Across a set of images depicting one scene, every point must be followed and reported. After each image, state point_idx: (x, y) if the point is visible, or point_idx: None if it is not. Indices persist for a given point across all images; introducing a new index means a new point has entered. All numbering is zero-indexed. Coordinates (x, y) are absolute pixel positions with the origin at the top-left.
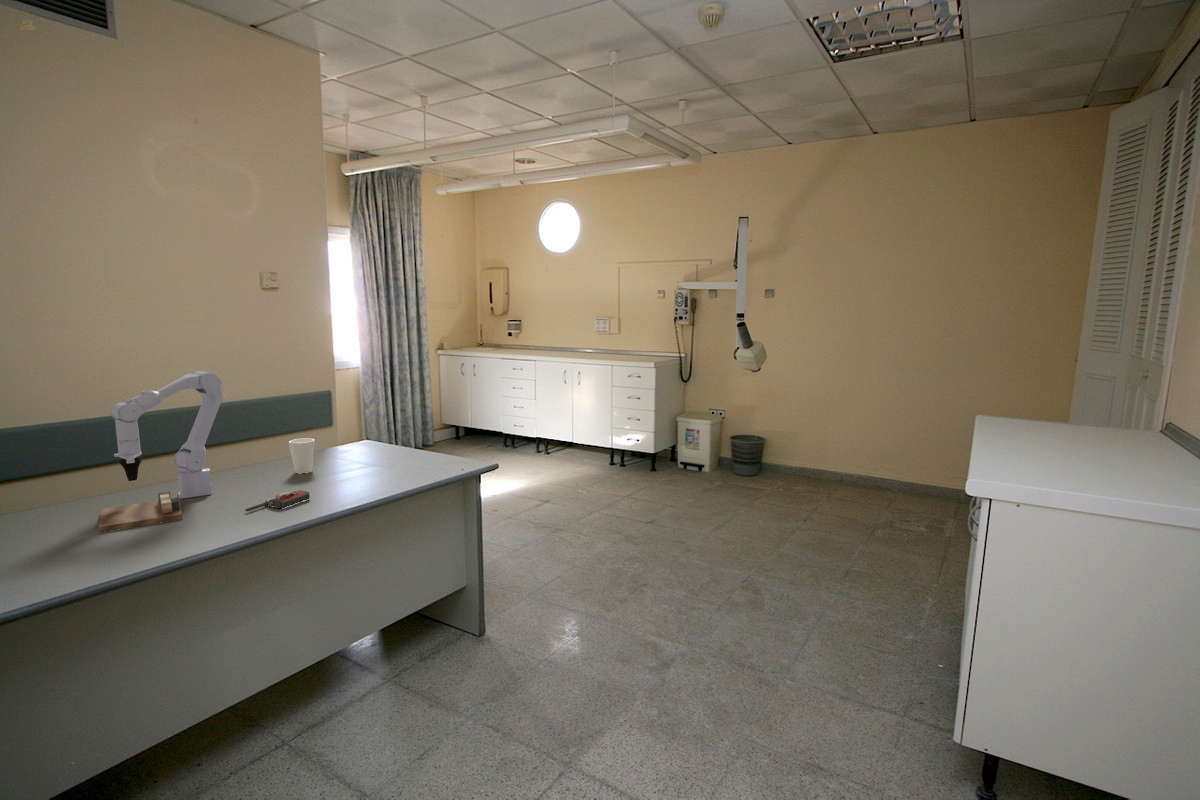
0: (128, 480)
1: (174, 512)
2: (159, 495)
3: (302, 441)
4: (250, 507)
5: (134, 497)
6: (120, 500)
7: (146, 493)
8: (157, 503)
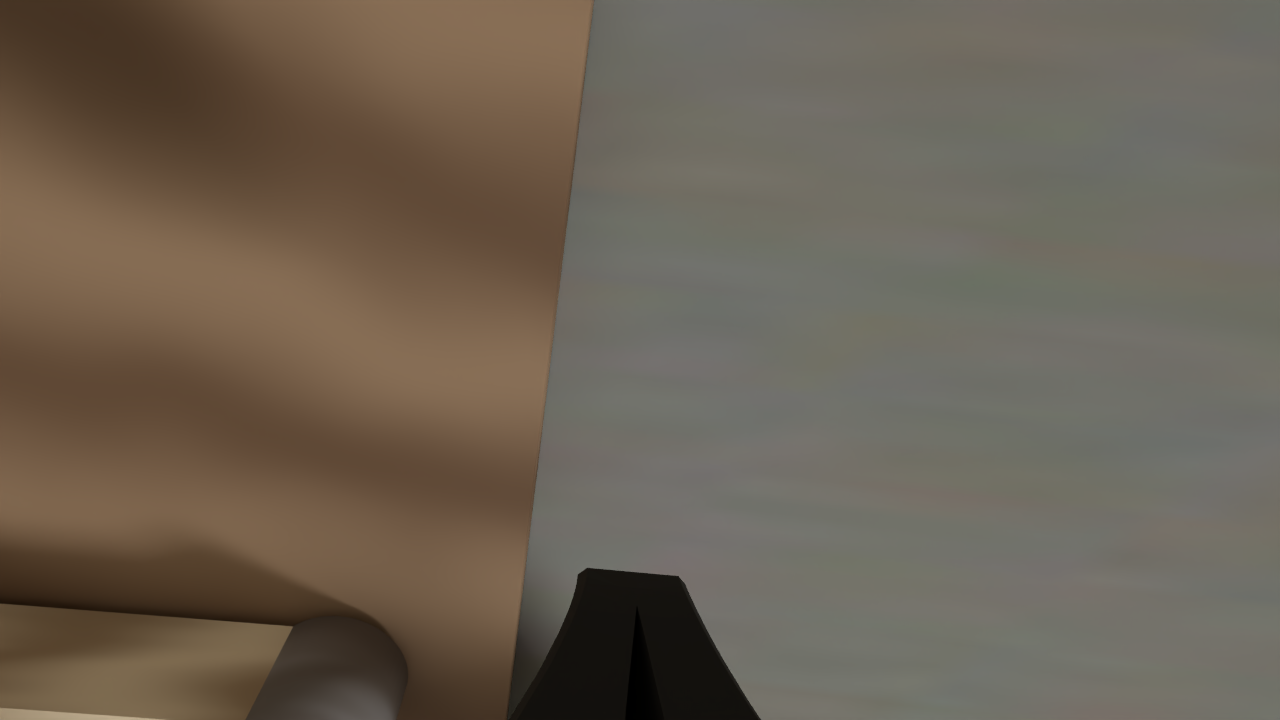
0: (591, 573)
1: None
2: (250, 709)
3: None
4: None
5: (1182, 415)
6: (1184, 257)
7: (1253, 546)
8: (360, 596)
